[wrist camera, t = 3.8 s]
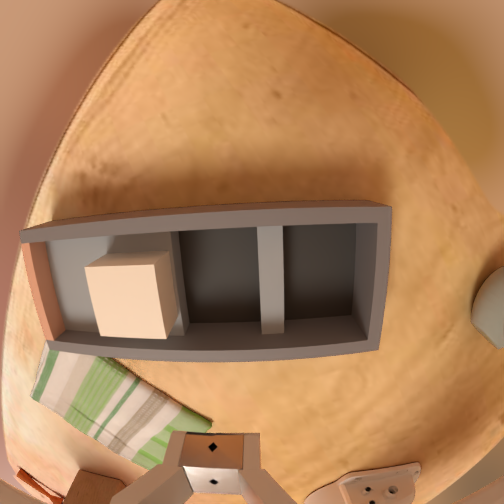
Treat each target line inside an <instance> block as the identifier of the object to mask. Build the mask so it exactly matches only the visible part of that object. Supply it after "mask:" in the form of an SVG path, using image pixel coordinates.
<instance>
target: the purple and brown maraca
mask: <svg viewBox="0 0 504 504" xmlns="http://www.w3.org/2000/svg"><path fill="white" fill-rule="evenodd" d="M17 477H18V478H20V479H21V480H23V481H24V482H26V483H27V484H29V485H30V486H32V487H33V488H35V489H36V490H38V491H39V492H41V493H42V494H44V495H46V496H47V497H49V498H50V500H51V501H52V502H53V504H63V503H62V502H63V498H59V497H56V496H52V495H50V494H49V493H48V492H46V491H45V490H44V489H43V488H42V487H41V486H40V485H38V484H37V483H36V482H35V481H34V480H33V479H32V478H31V477H30V476H29V475H28V474H27V473H26V472H25V471H24V470H22V469H20V471H19V472H18V473H17Z"/></svg>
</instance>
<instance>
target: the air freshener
mask: <svg viewBox="0 0 504 504" xmlns="http://www.w3.org/2000/svg"><path fill="white" fill-rule="evenodd" d="M471 323H472V324H473V326H474V327H475V328H476V329H477V330H478V331H479V332H480V333H481V334H482V335H483V336H484V337H485V338H486V339H487V340H488V341H489V342H490V343H491V344H492V345H493V346H494V347H496V348H497V349H501V348H503V347H504V266H503V267H501V268H499V269H497V270H496V271H494V272H493V273H492V274H491V275H490V276H489V277H488V278H487V279H486V280H485V282H484V283H483V285H482V286H481V288H480V290H479V292H478V293H477V296H476V298H475V301H474V304H473V308H472V312H471Z"/></svg>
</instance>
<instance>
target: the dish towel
mask: <svg viewBox="0 0 504 504" xmlns="http://www.w3.org/2000/svg"><path fill="white" fill-rule="evenodd" d="M30 397H31V398H32V399H34V400H35V401H37V402H39V403H41V404H42V405H44V406H46V407H47V408H48V409H50V410H51V411H53V412H55V413H56V414H58V415H59V416H61V417H62V418H63V419H65V420H66V421H67V422H68V423H70V424H71V425H72V426H74V427H75V428H77V429H78V430H79V431H81V432H83V433H84V434H86V435H88V436H90V437H92V438H93V439H95V440H97V441H99V442H100V443H102V444H103V445H105V446H106V447H107V448H109V449H110V450H111V451H113V452H114V453H116V454H118V455H120V456H122V457H124V458H126V459H128V460H130V461H132V462H133V463H135V464H137V465H139V466H141V467H144V468H146V469H148V470H151V469H152V468H153V467H155V466H156V465H157V464H162V463H163V459H164V456H165V453H166V449H167V446H168V442H169V439H170V435H171V433H172V432H173V430H176V431H188V432H201V433H206V431H207V430H208V429H210V428H211V427H212V423H211V422H210V421H208V420H207V419H205V418H203V417H202V416H200V415H198V414H196V413H194V412H192V411H191V410H189V409H187V408H186V407H184V406H182V405H181V404H179V403H177V402H176V401H174V400H172V399H171V398H170V397H168V396H167V395H165V394H164V393H162V392H161V391H159V390H158V389H156V388H154V387H152V386H151V385H149V384H148V383H146V382H144V381H143V380H141V379H139V378H138V377H136V376H135V375H134V374H132V373H131V372H130V371H128V370H127V369H126V368H124V367H123V366H121V365H120V364H119V363H117V362H116V361H115V360H113V359H112V358H110V357H101V356H92V355H84V354H76V353H69V352H62V351H55V350H50V349H49V347H48V344H47V341H45V345H44V349H43V352H42V356H41V360H40V364H39V367H38V371H37V376H36V381H35V384H34V386H33V389H32V391H31V394H30Z"/></svg>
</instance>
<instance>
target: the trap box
mask: <svg viewBox="0 0 504 504" xmlns="http://www.w3.org/2000/svg"><path fill="white" fill-rule="evenodd" d="M391 225H392V207H391V206H387V205H384V204H380V203H376V202H372V201H368V200H322V201H285V202H260V203H239V204H222V205H206V206H192V207H178V208H166V209H154V210H143V211H133V212H123V213H113V214H104V215H95V216H87V217H78V218H70V219H63V220H55V221H50V222H46V223H43V224H40V225H37V226H33V227H30V228H27V229H24V230H21V231H19V233H20V240H21V246H22V251H23V256H24V261H25V266H26V271H27V275H28V280H29V284H30V288H31V292H32V296H33V299H34V303H35V307H36V310H37V313H38V317H39V320H40V323H41V326H42V329H43V332H44V335H45V338H46V341H47V344H48V347H49V349H50V350H55V351H62V352H69V353H76V354H84V355H92V356H101V357H111V358H122V359H135V360H151V361H173V362H253V361H275V360H291V359H304V358H316V357H326V356H336V355H344V354H353V353H360V352H368V351H375V350H378V349H379V343H380V337H381V331H382V324H383V317H384V309H385V301H386V293H387V283H388V273H389V261H390V246H391ZM149 251H169V255H170V263H171V271H172V279H173V286H174V293H175V300H176V306H177V313H178V317H177V319H176V321H175V323H174V325H173V327H172V329H171V331H170V333H169V335H168V337H167V339H148V338H126V337H109V336H101V335H100V332H99V328H98V325H97V321H96V317H95V313H94V309H93V305H92V301H91V297H90V292H89V288H88V283H87V278H86V273H85V268H84V267H85V266H87V265H88V264H90V263H92V262H93V261H95V260H97V259H98V258H100V257H102V256H103V255H105V254H111V253H130V252H149Z"/></svg>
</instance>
